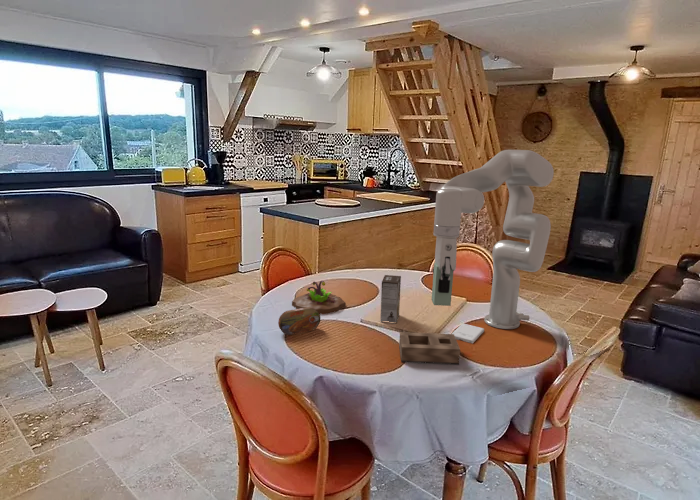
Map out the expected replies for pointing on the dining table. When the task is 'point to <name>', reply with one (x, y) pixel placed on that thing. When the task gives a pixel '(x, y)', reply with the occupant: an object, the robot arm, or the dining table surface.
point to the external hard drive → (467, 333)
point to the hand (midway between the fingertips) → (441, 288)
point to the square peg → (437, 297)
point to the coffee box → (390, 298)
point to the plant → (319, 300)
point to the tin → (299, 321)
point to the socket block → (429, 348)
